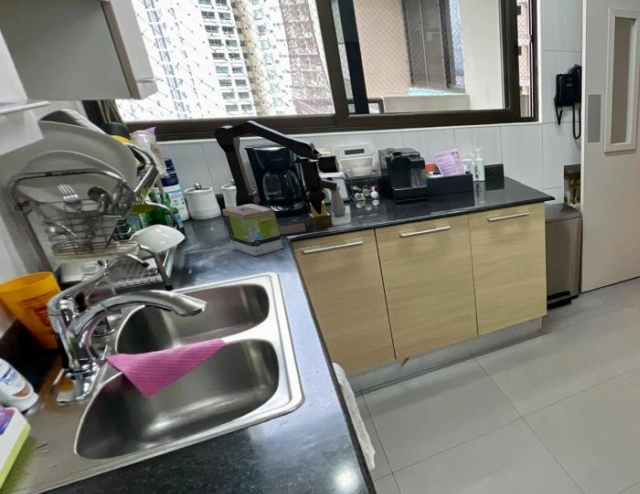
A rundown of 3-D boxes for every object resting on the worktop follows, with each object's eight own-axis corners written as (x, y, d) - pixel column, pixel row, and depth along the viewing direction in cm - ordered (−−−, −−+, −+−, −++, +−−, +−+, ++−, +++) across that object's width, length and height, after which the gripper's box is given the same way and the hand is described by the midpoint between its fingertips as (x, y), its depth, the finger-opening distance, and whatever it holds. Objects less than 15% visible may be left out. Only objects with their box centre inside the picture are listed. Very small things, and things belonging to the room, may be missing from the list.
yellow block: (313, 216, 186) (310, 204, 185) (312, 213, 190) (309, 202, 188) (327, 215, 189) (324, 203, 187) (325, 212, 193) (323, 200, 191)
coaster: (270, 237, 177) (270, 236, 177) (270, 228, 186) (270, 227, 186) (306, 232, 183) (306, 230, 183) (304, 224, 192) (304, 222, 192)
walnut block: (315, 228, 187) (312, 217, 185) (311, 224, 192) (308, 214, 190) (332, 225, 191) (330, 214, 189) (328, 221, 196) (326, 211, 194)
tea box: (284, 248, 166) (274, 208, 161) (254, 257, 158) (242, 215, 153) (262, 240, 173) (251, 202, 168) (232, 248, 165) (220, 208, 160)
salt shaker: (342, 216, 203) (336, 187, 198) (329, 216, 203) (323, 186, 198) (349, 212, 208) (343, 183, 203) (336, 212, 208) (330, 183, 203)
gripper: (336, 176, 180) (344, 214, 186) (330, 167, 195) (338, 204, 201) (303, 179, 175) (312, 219, 181) (300, 170, 189) (308, 207, 195)
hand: (319, 212), depth 189 cm, fingers open, 6 cm apart
